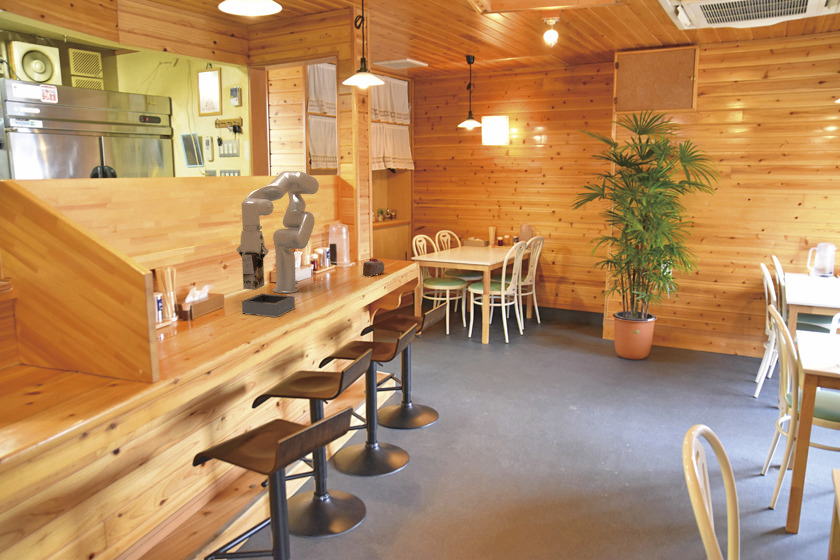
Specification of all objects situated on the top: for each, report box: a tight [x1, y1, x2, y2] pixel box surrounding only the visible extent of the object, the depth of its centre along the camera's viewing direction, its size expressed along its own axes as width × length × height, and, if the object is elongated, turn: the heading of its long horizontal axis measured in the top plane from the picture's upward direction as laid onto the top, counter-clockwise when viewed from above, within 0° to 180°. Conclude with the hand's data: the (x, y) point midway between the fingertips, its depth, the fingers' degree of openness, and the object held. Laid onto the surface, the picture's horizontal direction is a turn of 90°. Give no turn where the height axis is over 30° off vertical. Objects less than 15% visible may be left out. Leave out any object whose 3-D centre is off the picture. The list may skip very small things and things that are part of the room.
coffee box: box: [241, 252, 265, 291], centre depth 269 cm, size 9×6×16 cm
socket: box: [241, 293, 296, 318], centre depth 257 cm, size 16×16×5 cm
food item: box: [362, 258, 385, 277], centre depth 345 cm, size 14×8×10 cm, turn 152°
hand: (253, 266), depth 269 cm, fingers closed on coffee box, 6 cm apart
